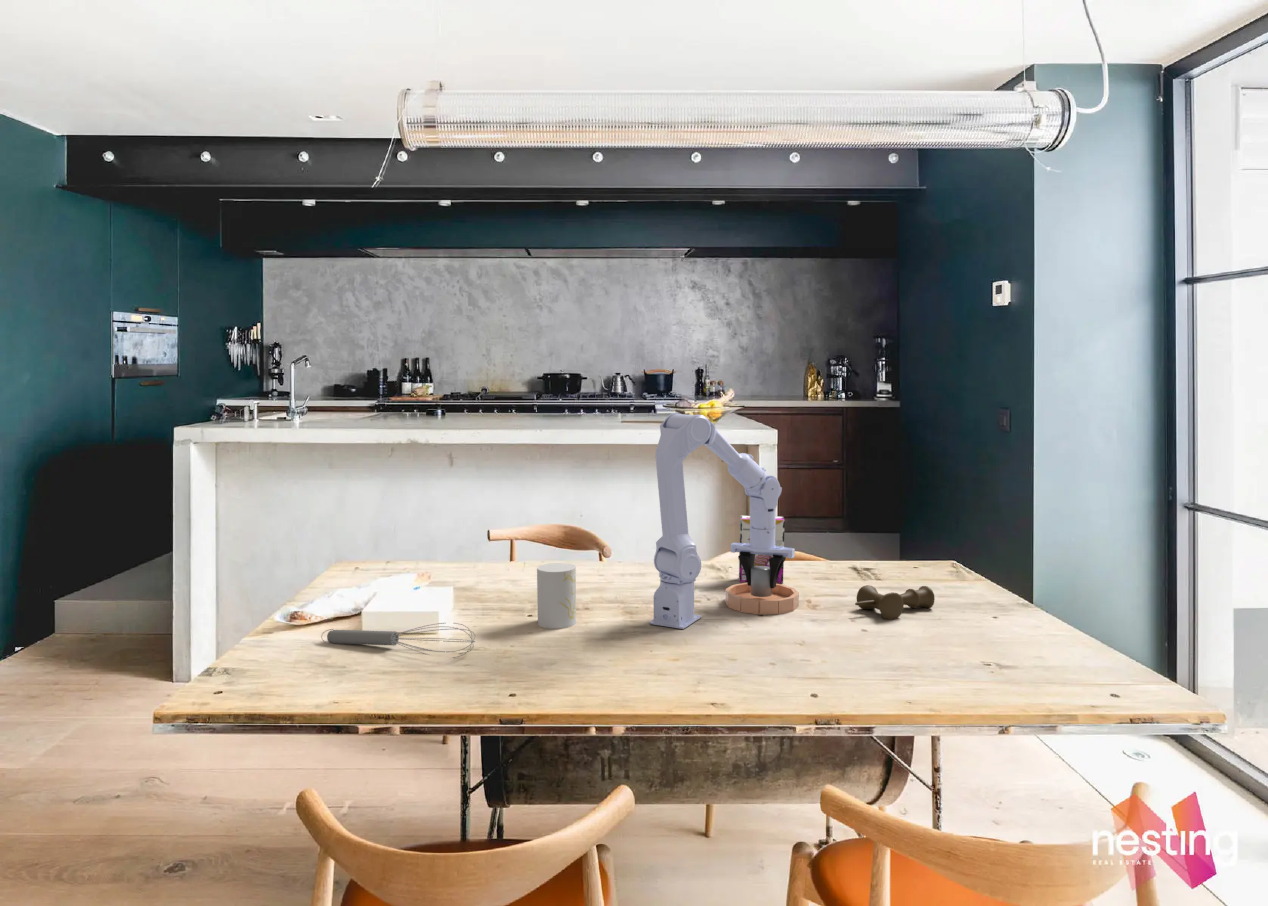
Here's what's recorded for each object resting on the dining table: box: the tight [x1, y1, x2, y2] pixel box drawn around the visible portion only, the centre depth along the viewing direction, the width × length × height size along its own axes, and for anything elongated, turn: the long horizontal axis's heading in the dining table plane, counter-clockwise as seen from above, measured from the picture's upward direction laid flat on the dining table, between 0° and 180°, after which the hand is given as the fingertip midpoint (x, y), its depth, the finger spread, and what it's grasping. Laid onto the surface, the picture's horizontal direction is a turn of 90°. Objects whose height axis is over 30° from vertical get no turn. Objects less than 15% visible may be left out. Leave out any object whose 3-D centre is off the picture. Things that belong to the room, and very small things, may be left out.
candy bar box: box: [738, 515, 786, 584], centre depth 209 cm, size 11×5×16 cm, turn 84°
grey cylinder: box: [751, 566, 772, 597], centre depth 188 cm, size 5×5×6 cm
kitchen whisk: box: [320, 622, 476, 658], centre depth 159 cm, size 6×34×6 cm, turn 73°
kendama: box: [854, 584, 936, 621], centre depth 183 cm, size 6×10×20 cm
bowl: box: [724, 582, 800, 615], centre depth 189 cm, size 16×16×3 cm
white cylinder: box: [536, 562, 577, 630], centre depth 175 cm, size 8×8×12 cm
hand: (761, 586), depth 189 cm, fingers closed on grey cylinder, 5 cm apart
